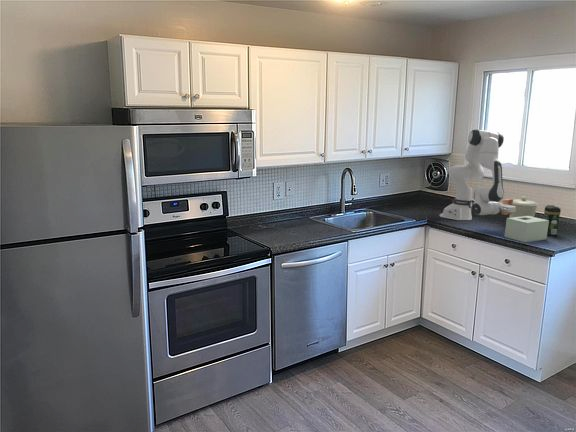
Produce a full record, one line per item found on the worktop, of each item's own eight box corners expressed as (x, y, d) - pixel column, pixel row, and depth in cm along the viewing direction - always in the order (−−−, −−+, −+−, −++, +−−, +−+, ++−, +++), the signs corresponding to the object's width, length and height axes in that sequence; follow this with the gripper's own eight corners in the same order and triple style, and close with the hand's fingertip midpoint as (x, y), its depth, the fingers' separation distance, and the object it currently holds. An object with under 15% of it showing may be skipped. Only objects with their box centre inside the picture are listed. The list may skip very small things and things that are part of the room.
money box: (524, 242, 274) (527, 222, 272) (504, 236, 287) (506, 218, 284) (546, 239, 283) (549, 220, 281) (525, 234, 296) (528, 215, 293)
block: (504, 215, 302) (507, 200, 300) (501, 214, 305) (503, 199, 302) (511, 214, 305) (513, 199, 303) (507, 213, 307) (509, 198, 305)
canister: (532, 225, 323) (536, 195, 319) (537, 230, 306) (541, 199, 302) (504, 222, 328) (507, 193, 324) (507, 228, 311) (511, 197, 307)
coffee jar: (539, 231, 303) (543, 204, 299) (551, 232, 302) (556, 204, 299) (545, 235, 294) (550, 206, 290) (558, 236, 293) (563, 207, 289)
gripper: (508, 205, 288) (522, 204, 294) (481, 199, 306) (496, 198, 312) (506, 215, 289) (521, 213, 296) (480, 208, 307) (494, 207, 313)
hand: (508, 205), depth 304 cm, fingers closed on block, 3 cm apart
